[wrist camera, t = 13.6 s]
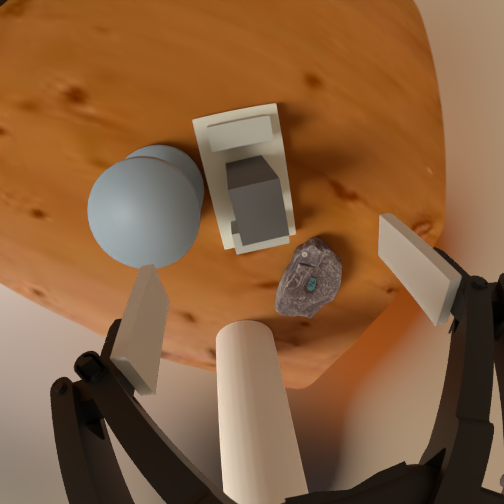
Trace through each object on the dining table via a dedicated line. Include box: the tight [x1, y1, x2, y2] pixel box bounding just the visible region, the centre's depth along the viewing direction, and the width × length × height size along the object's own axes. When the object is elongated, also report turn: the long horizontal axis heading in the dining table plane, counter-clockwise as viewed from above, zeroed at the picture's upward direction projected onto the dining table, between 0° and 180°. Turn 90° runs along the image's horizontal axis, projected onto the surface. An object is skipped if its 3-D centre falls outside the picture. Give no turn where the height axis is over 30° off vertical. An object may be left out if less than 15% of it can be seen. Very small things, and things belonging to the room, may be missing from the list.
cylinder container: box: [216, 320, 308, 504], centre depth 32 cm, size 9×9×30 cm
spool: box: [88, 144, 204, 269], centre depth 28 cm, size 11×11×8 cm
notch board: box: [192, 103, 296, 254], centre depth 30 cm, size 16×9×5 cm, turn 10°
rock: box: [275, 237, 342, 319], centre depth 38 cm, size 8×11×5 cm
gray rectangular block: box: [226, 155, 289, 246], centre depth 27 cm, size 5×4×10 cm
